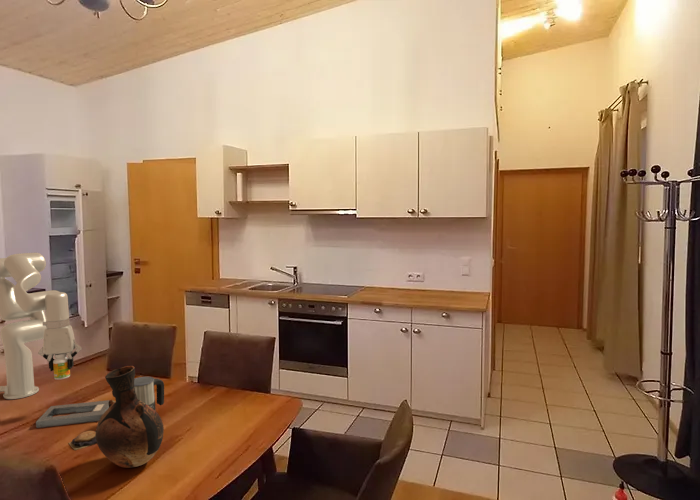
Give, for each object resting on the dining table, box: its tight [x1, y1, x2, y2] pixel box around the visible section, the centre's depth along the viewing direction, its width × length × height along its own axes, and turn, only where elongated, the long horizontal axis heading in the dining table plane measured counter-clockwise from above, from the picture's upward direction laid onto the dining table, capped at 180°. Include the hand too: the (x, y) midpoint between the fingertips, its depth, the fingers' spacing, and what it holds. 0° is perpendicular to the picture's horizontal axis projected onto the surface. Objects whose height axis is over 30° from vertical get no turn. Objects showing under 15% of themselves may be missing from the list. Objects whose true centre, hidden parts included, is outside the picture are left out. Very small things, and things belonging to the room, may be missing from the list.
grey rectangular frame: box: [35, 399, 110, 429], centre depth 176 cm, size 22×14×2 cm, turn 104°
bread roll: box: [68, 430, 97, 451], centre depth 157 cm, size 11×8×4 cm
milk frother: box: [134, 376, 165, 412], centre depth 176 cm, size 14×16×15 cm
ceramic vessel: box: [95, 365, 164, 469], centre depth 141 cm, size 21×18×30 cm
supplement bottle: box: [53, 353, 71, 380], centre depth 181 cm, size 5×5×10 cm
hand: (61, 368), depth 181 cm, fingers closed on supplement bottle, 5 cm apart
